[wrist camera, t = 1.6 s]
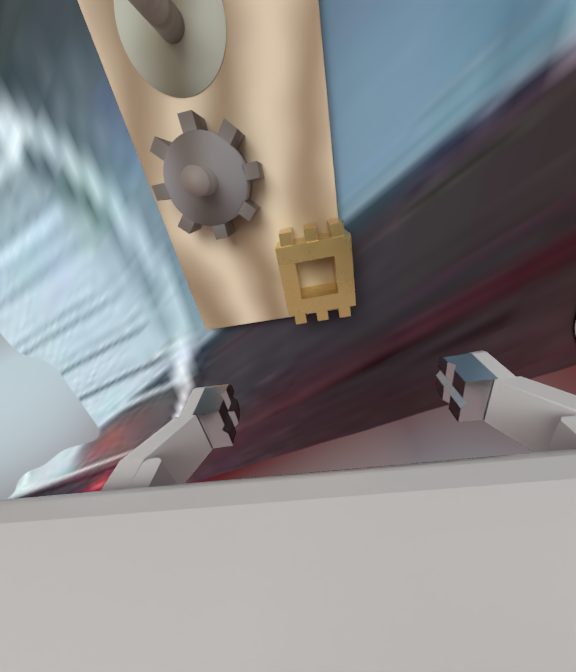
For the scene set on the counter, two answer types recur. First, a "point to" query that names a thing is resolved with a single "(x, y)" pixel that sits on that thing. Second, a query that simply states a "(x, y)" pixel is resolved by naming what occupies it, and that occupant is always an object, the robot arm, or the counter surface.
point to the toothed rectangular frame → (313, 248)
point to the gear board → (226, 137)
